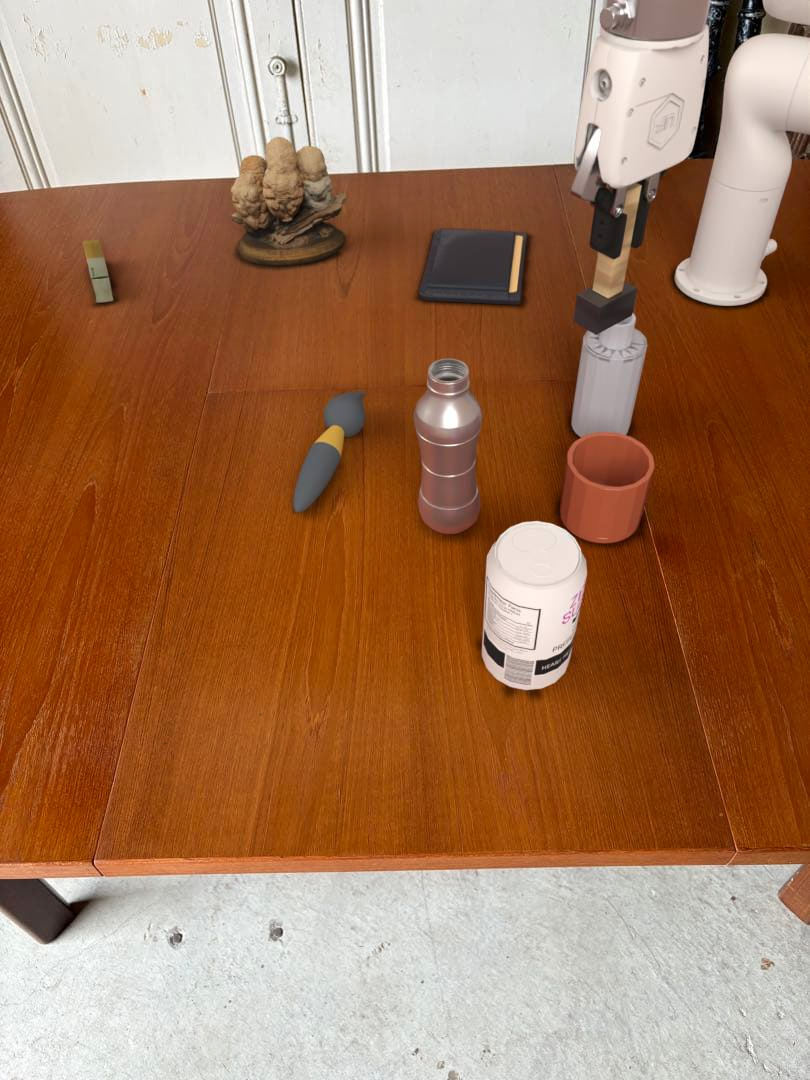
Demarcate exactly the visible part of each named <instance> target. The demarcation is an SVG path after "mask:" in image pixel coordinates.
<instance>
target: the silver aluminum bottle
mask: <svg viewBox="0 0 810 1080" xmlns="http://www.w3.org/2000/svg"><path fill="white" fill-rule="evenodd" d="M469 377H470V371H469V367H468V365H467V364H466V363H465V362H464V361H462V360H460V359H456V358H441V359H437V360H435V361H434V362H432V363H431V364H430V365H429V367H428V370H427V380H426V389H427V390H425V392H424V394H423V395H422V396H421V397H420V398H419V400H417V402H416V405H415V407H414V410H413V411H414V412H413V422H414V423H413V424H414V428H415V432H416V435H417V436H416V437H417V440H418V445H419V451H420V457H421V480H420V486H419V491H418V499H417V509H418V511H419V512H418V513H419V515H420V517H421V520H422V522H423V523H424V524H425V525H426V526H427V527H428V528H430V529H431V530H433V531H435V532H437V533H440V534H444V535H454V534H460V533H462V532H465V531H466V530H468V529H470V527H472V526H473V525H474V524H475V523H476V521H477V520H478V517H479V514H480V510H481V506H482V505H481V504H482V503H481V496H480V491H479V488H478V483H477V471H476V458H477V449H478V447H477V446H478V442H479V438H480V433H481V429H482V428H481V426H482V422H483V412H482V409H481V406H480V403H479V401H478V400H477V399H476V397H475V395H474V394H473V393H472V392H471V391H470V390H469V389H470V378H469Z"/></svg>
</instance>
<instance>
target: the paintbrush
mask: <svg viewBox="0 0 810 1080" xmlns="http://www.w3.org/2000/svg"><path fill="white" fill-rule="evenodd" d="M366 392H367V391H350V392H349V391H348V392H344V393H340V394H338V395H335V396H334V397H333V398H331V399H330V400H329V401H328V402H327V403H326V405H325V407H324V410H323V422H324V426H325V427H326V430H325V431H323V433H322V434H321V435H320V436H319V437H318V438H317V439H316V440H315V441H314V442H313V443H312V445H311V447H309V450H308V452H307V454H306V456H305V458H304V461H303V463H302V465H301V468H300V471H299V474H298V476H297V481H296V484H295V487H294V492H293V498H292V500H293V501H292V505H293V510H294V511H295V513H298V514H299V513H302V512H304V511H306V510H307V509H309V508H310V507H311V506H312V505H313V504H314V503H315V502H316V501H317V499H319V497H320V495H322V493H323V492H324V490H325V489H326V488H327V486H328V484H329V483H330V482H331V479H332V478H333V476H334V475H335V472H336V471H337V469H338V467H339V464H340V462H341V458H342V454H343V450H344V449H343V448H344V441H345V438H352V437H354V436H356V435H357V434H359V432H361V430H363V428H364V426H365V423H366V410H365V406H364V403H363V399H364V397H365V395H366Z"/></svg>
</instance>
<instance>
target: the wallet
mask: <svg viewBox="0 0 810 1080" xmlns="http://www.w3.org/2000/svg"><path fill="white" fill-rule="evenodd" d="M432 235H433V236H432V239H431V243H430V248H429V252H428V257H427V261H426V264H425V268H424V272H423V275H422V278H421V282H420V285H419V292H418V298H419V299H422V300H424V301H431V302H446V303H447V302H448V303H474V304H492V305H513V306H514V305H515V306H520V305H521V300H522V293H523V292H522V290H523V277H524V267H525V260H526V259H525V258H526V249H527V239H528V232H525V231H524V232H523V231H511V230H494V229H493V230H490V229H470V228H469V229H468V228H444V227H443V228H437V229H435V230H434V232H433V234H432Z"/></svg>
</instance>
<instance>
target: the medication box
mask: <svg viewBox="0 0 810 1080" xmlns="http://www.w3.org/2000/svg"><path fill="white" fill-rule="evenodd" d="M82 245H83V250H84V255H85V260H86V261H85V262H86V265H87V269H88V275H89V279H90V283H91V288H92V293H93V297H94V301H95V303H96V304H107V303H112V302H114V296H113V295H114V294H113V290H112V285H111V279H110V275H109V271H108V268H107V264H106V263H107V262H106V259H105V255H104V251H103V248H102V247H103V246H102V243H101V240H100V239H91V240H83V241H82Z"/></svg>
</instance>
